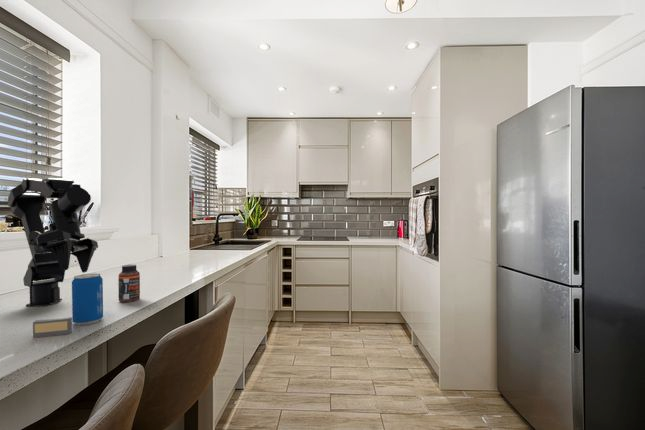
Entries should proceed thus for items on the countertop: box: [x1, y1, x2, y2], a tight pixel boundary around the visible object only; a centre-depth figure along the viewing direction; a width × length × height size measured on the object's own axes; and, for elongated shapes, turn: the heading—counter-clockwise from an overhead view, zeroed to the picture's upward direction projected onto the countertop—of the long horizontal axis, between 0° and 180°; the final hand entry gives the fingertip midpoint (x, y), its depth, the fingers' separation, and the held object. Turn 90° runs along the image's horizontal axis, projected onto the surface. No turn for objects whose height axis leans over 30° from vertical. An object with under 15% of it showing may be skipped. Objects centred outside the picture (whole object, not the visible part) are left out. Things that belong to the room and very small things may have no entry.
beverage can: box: [71, 273, 104, 326], centre depth 85 cm, size 6×6×12 cm
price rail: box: [32, 317, 73, 338], centre depth 76 cm, size 7×1×4 cm, turn 107°
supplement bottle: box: [117, 264, 141, 303], centre depth 105 cm, size 6×6×11 cm
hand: (75, 271), depth 92 cm, fingers open, 9 cm apart
